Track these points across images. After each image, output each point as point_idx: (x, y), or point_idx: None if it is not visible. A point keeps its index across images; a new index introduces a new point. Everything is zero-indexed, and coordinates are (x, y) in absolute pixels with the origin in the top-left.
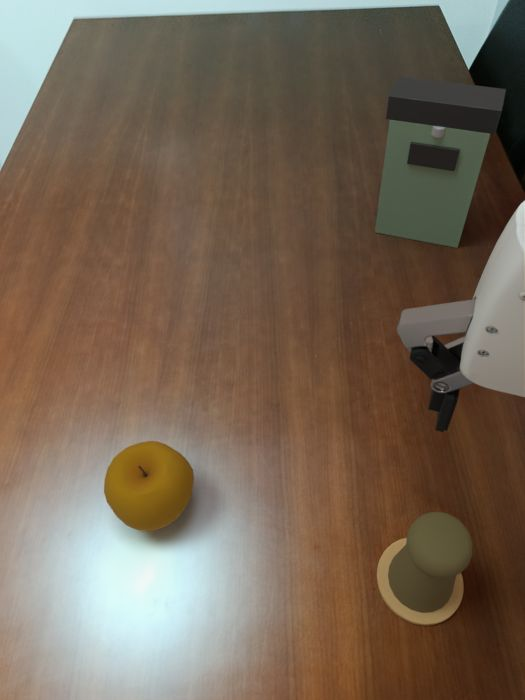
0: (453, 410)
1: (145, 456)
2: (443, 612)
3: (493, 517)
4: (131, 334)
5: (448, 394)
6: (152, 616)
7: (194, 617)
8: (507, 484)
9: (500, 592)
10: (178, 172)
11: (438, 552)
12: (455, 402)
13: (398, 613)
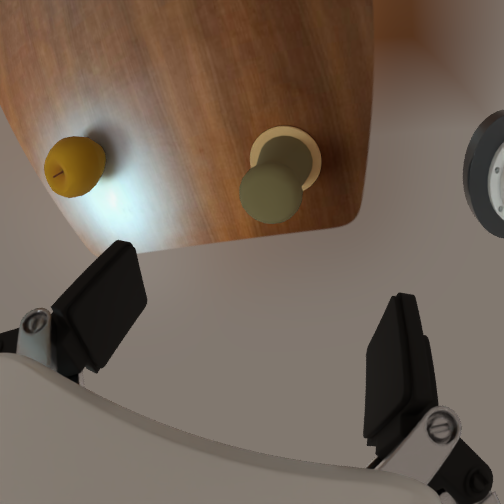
0: (116, 346)
1: (54, 164)
2: (305, 184)
3: (349, 94)
4: (34, 45)
5: (86, 365)
6: (126, 218)
7: (146, 214)
8: (362, 60)
9: (352, 159)
10: None
11: (264, 215)
12: (103, 364)
13: None
